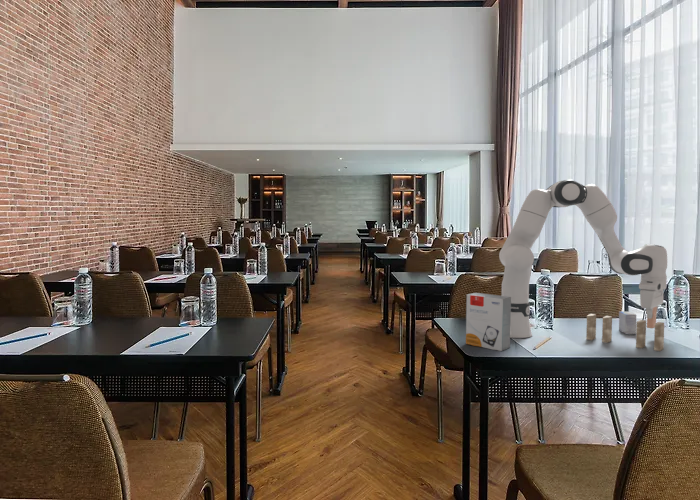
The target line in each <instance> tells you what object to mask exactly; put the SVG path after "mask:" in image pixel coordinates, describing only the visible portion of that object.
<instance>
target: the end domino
mask: <svg viewBox="0 0 700 500" xmlns="http://www.w3.org/2000/svg"><path fill="white" fill-rule="evenodd" d="M653 338H654V340H653V341H654V342H653V345H654V346H653V351H656V352H661V351H663V350H664V345H665V322H662V321H661V322H660V321H656V323H655V328H654V337H653Z"/></svg>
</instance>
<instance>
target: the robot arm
mask: <svg viewBox="0 0 700 500" xmlns="http://www.w3.org/2000/svg"><path fill="white" fill-rule="evenodd" d="M571 206H576V207H578V209H579V210H580V211H581V212H582V214H583V216H584V218H585V220H586V221H587V222H588V224H589V225H590V226H591V228H592V229H593V230H594V232H595V233H596V236H597V237H598V239H599V240H600V243H601V245H602V246H603V248H604V250H605V252H606V254H607V258H608V266H609V268H610V270H612V271H613V272H614V273H616V274H620V275H628V276H639V275H640V282H639V284H638V289H639V290H640V291H639V292H640V293H639V294H640V295H639V299H640V307H641V309H645V311H646V319H647V318H649V319H651V318H653V314H652V310H653V308H654V307H657V310H656V317H657V315H658V310H659V306H661V305H664V304H663V303H664V290H666V289H667V268H668V252H667V248H666V247H664V246H662V245H659V244H653V243H645V244H644V245H643V246H641V247H639V248H637V249H634V250H631V251H628V250H627V249H625V248H624V247H623V246H622V244H621V241H620V239H619V238H618V236H617V235H616V233H615V229H614V227H615V224H616V223H617V220H618V214H617V212H616V210H615V208H614V205H613V204H612V202H611V201H610V199H609V198H608V197H607V195H606V194H605V192H603V190H602V189H601V188H600V187H599V186H598V185H597V184H593V183H591V184H590V183H589V184H586V185H583V184H581V183H580V182H578V181H576V180H574V179H564V180H559V181H557V182H555V183H552V185H550V186H549V187H547V188H546V189H542V188H535V189H531V191H530V192H529V193H528V194H527V196H526V198H525V199H524V200H523V204H522V205H521V207H520V210H519V213H518V214H517V217H516V220H515V221H514V225H513V227H512V229H511V230H510V231H509V234H508V236H507V238H506V240H505V241H504V243H503V245H502V247H501V249H500V251H499V253H498V255H499V257H498V258H499V261H500V263H501V265H503V267H504V272H503V277H502V282H501V296H507V297H511V321H510V339H511V338H512V339H513V338H514V339H516V338H517V339H525V338H532V337H533V333H532V329H531V324H530V312H531V307H530V301H529V300H530V299H529V298H530V297H529V296H530V295H529V294H530V280H531V277H532V276H531V274H532V270H533V264H534V262H535V255H534V253H533V251H532V250H531V248H532V247H533V245H534V244H535V242H536V241H537V239H538V238H539V237H540V235H541V232H542V231H543V227H544V225H545V222H546V221H547V218H548V214H549V213H550V211H551V209H552V208H568V207H571Z"/></svg>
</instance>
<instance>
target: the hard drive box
mask: <svg viewBox="0 0 700 500" xmlns="http://www.w3.org/2000/svg"><path fill="white" fill-rule="evenodd" d="M465 295H466V300H465V301H466V303H465V305H466V307H465V310H466V311H465V344H466V345H469V346H470V345H471V346H474V347H480V348H484V349H489V350H493V351H498V352H502V351H505V350H508V349H510V348H511V338H510V321H511V297H507V296H502V295H498V294H497V295H496V294H489V293H482V292H481V293H480V292H473V293H468V294H465Z"/></svg>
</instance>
